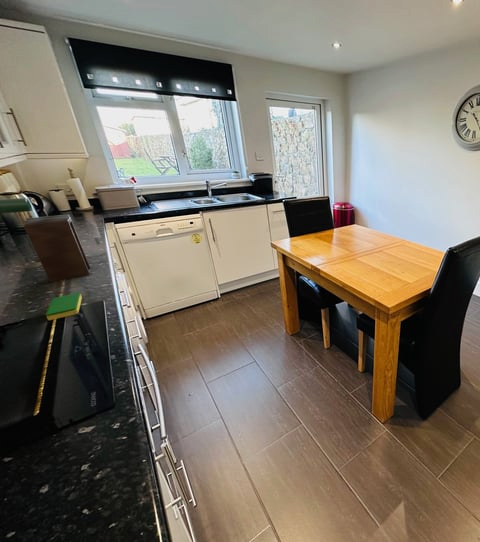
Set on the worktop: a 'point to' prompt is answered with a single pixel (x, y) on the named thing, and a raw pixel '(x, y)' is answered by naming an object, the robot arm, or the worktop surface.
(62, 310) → the dish sponge
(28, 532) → the worktop surface
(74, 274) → the dark brown block
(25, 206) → the bottle
